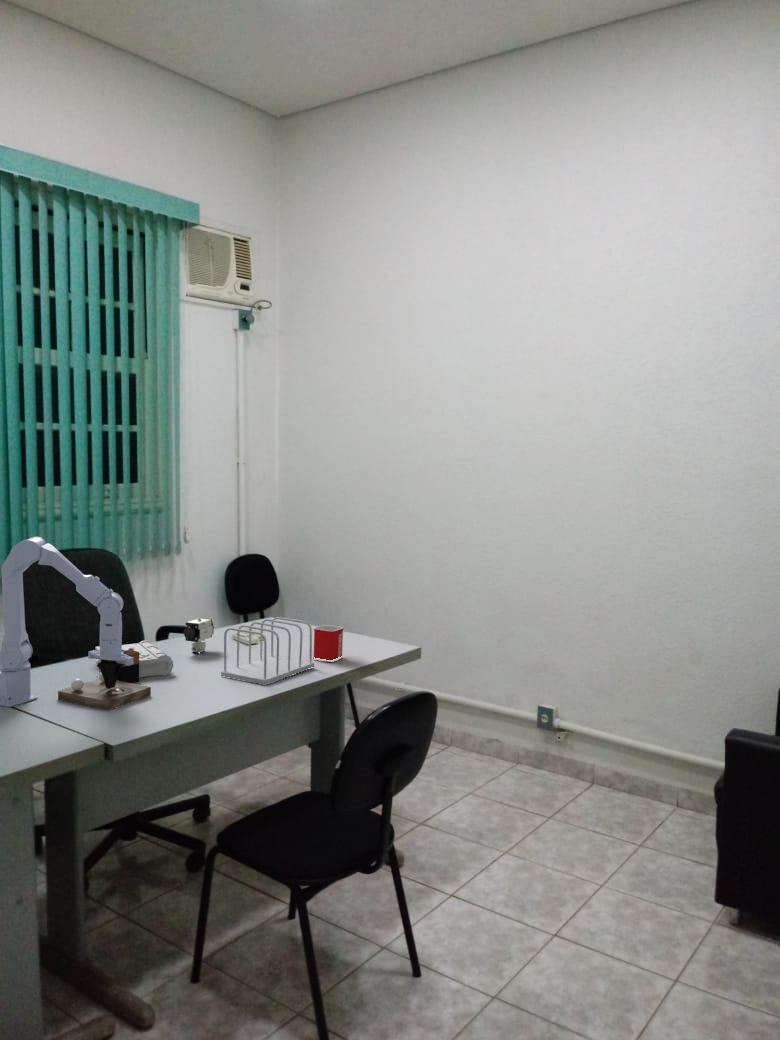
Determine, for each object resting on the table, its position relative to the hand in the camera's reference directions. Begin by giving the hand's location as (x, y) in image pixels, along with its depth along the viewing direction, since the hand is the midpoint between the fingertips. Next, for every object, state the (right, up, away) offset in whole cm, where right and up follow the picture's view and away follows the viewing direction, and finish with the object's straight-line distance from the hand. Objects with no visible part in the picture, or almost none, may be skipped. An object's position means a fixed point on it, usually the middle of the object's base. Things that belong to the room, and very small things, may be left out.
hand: (110, 687), depth 226 cm
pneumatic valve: (+12, 0, +56) cm, 57 cm away
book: (-5, -1, +34) cm, 34 cm away
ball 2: (-4, +2, +7) cm, 9 cm away
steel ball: (+2, -2, -1) cm, 3 cm away
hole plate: (-2, -3, +1) cm, 4 cm away
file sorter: (+38, -2, +33) cm, 51 cm away
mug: (+56, -1, +54) cm, 78 cm away
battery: (-1, -2, +16) cm, 16 cm away
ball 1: (-8, +1, -2) cm, 9 cm away
